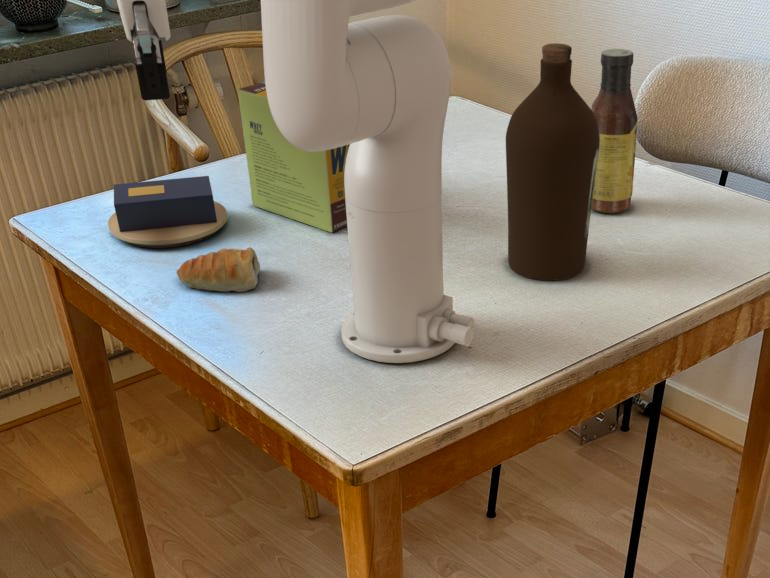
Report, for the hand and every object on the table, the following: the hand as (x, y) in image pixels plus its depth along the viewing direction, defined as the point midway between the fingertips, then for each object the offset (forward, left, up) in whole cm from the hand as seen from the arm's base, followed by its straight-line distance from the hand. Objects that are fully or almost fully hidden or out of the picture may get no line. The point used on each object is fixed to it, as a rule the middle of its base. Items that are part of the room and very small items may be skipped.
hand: (154, 86), depth 121 cm
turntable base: (+1, +1, -18) cm, 18 cm away
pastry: (-16, +10, -18) cm, 26 cm away
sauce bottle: (-46, -34, -18) cm, 60 cm away
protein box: (-12, -14, -18) cm, 26 cm away
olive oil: (-47, -13, -18) cm, 52 cm away
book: (+1, +1, -18) cm, 18 cm away
